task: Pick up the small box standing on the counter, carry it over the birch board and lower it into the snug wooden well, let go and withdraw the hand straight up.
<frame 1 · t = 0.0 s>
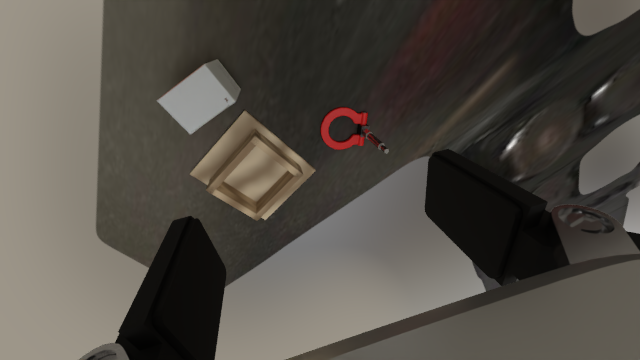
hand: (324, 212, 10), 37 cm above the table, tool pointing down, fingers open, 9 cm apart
small box: (211, 88, 40), on the table
well: (256, 170, 48), on the table
tow hook: (342, 128, 48), on the table
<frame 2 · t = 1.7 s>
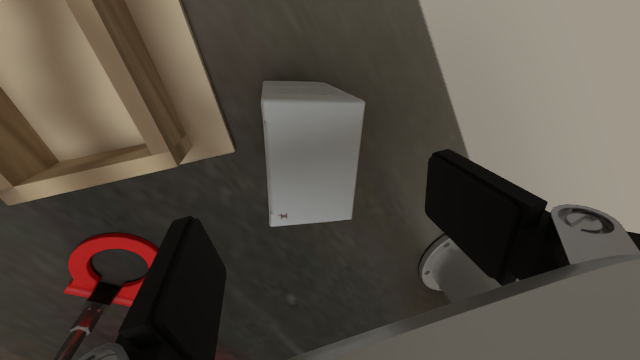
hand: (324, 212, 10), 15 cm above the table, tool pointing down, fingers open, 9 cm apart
small box: (294, 124, 23), on the table
well: (80, 78, 18), on the table
tow hook: (122, 263, 27), on the table
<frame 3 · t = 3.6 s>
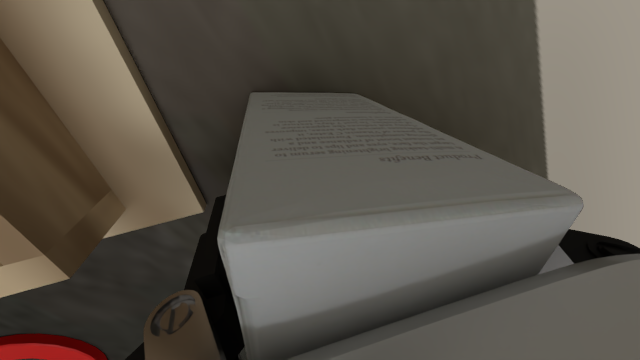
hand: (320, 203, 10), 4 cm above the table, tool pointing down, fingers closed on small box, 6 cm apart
small box: (304, 161, 14), on the table, touching gripper
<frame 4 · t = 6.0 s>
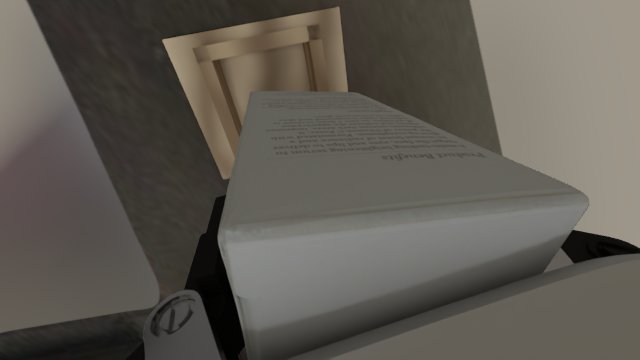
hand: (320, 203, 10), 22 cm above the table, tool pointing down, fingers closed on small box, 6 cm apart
small box: (304, 160, 14), point 18 cm above the table, touching gripper
well: (274, 101, 29), on the table
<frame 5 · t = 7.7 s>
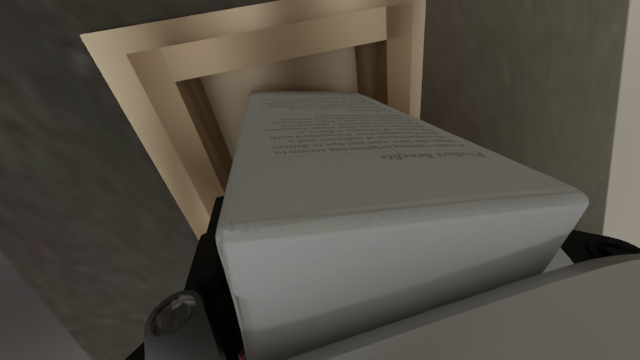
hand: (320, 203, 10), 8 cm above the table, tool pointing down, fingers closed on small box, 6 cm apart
small box: (304, 160, 14), point 4 cm above the table, touching gripper
well: (297, 141, 17), on the table
when the fingers open (6 cm above the table, at t = 8.8 s): small box drops 1 cm, resting on well.
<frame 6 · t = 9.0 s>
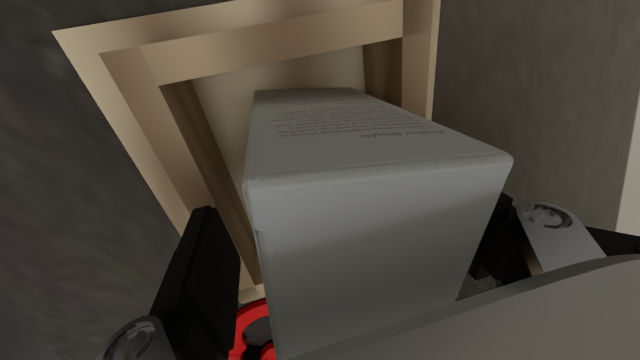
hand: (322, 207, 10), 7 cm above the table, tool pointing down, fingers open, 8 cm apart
small box: (305, 151, 15), point 1 cm above the table, touching well
well: (298, 148, 16), on the table
tow hook: (267, 324, 24), on the table
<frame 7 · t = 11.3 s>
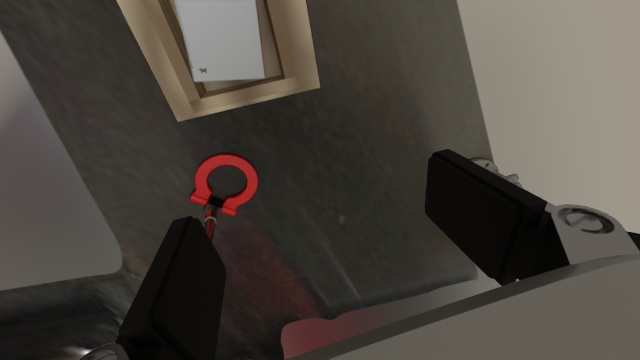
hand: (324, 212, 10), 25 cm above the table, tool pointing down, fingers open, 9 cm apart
small box: (231, 30, 26), point 1 cm above the table, touching well
well: (228, 30, 26), on the table
tow hook: (226, 180, 35), on the table
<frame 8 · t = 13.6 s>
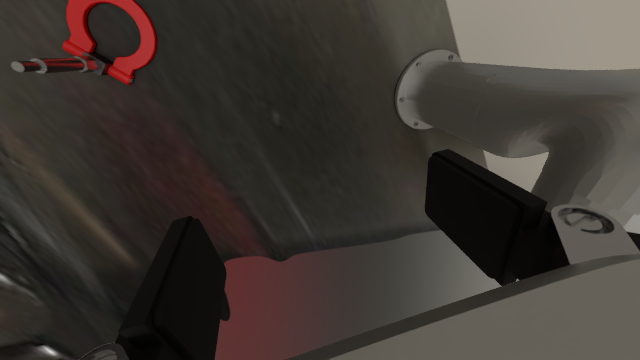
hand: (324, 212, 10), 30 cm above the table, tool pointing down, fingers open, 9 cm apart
tow hook: (116, 34, 29), on the table
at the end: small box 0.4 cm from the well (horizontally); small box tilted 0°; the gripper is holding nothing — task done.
